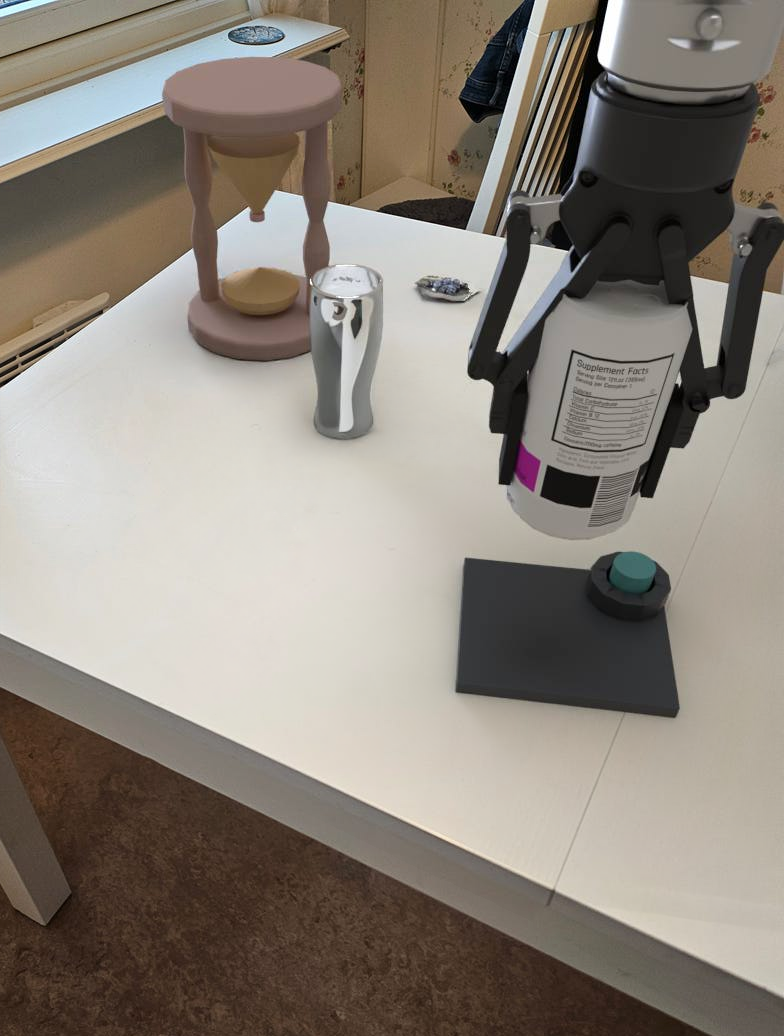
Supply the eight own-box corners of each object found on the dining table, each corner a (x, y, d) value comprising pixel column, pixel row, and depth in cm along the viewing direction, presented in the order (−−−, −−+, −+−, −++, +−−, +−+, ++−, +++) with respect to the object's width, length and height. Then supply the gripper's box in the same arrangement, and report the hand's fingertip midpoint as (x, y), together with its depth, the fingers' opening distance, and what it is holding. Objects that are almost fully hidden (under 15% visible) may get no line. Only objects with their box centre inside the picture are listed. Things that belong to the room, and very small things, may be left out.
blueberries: (408, 281, 112) (410, 266, 111) (470, 275, 113) (472, 260, 112) (423, 307, 108) (424, 291, 107) (487, 300, 109) (489, 285, 107)
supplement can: (478, 503, 60) (515, 285, 49) (556, 453, 63) (606, 240, 52) (579, 565, 56) (643, 341, 45) (655, 507, 59) (732, 288, 48)
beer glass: (389, 417, 92) (399, 274, 81) (353, 450, 88) (359, 306, 77) (333, 396, 95) (335, 256, 84) (295, 428, 91) (292, 285, 80)
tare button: (648, 569, 73) (654, 553, 71) (652, 596, 71) (658, 580, 69) (607, 565, 73) (612, 549, 72) (610, 592, 71) (615, 576, 70)
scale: (656, 582, 75) (666, 555, 73) (676, 718, 66) (688, 692, 63) (463, 563, 77) (467, 536, 75) (455, 693, 68) (459, 666, 65)
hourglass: (158, 337, 104) (124, 94, 85) (239, 276, 114) (224, 47, 96) (290, 376, 98) (284, 124, 79) (363, 308, 108) (373, 70, 90)
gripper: (443, 94, 40) (406, 499, 57) (949, 114, 37) (754, 531, 54) (452, 45, 45) (415, 431, 62) (898, 60, 42) (734, 458, 59)
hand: (574, 478), depth 58 cm, fingers closed on supplement can, 8 cm apart
